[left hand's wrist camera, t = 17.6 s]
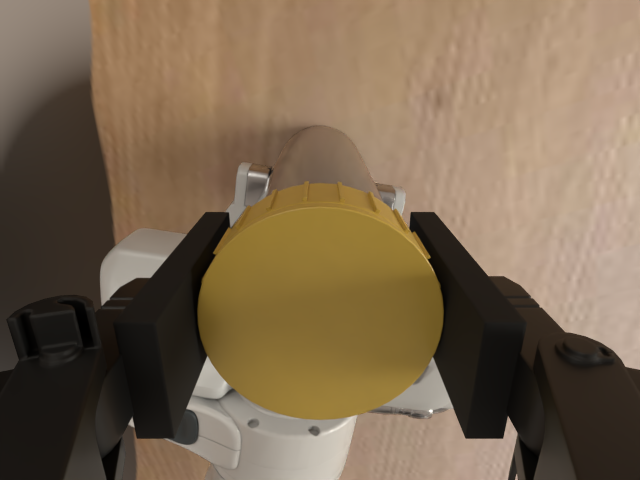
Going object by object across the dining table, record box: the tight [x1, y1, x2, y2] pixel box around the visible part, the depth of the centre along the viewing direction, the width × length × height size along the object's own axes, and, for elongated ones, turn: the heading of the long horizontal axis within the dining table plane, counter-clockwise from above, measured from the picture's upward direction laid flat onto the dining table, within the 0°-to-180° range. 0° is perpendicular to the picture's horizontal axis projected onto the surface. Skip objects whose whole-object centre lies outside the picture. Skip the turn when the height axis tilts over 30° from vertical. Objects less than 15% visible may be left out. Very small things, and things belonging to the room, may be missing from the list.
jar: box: [255, 126, 385, 204], centre depth 19 cm, size 5×5×17 cm
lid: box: [197, 181, 444, 420], centre depth 11 cm, size 6×6×2 cm
